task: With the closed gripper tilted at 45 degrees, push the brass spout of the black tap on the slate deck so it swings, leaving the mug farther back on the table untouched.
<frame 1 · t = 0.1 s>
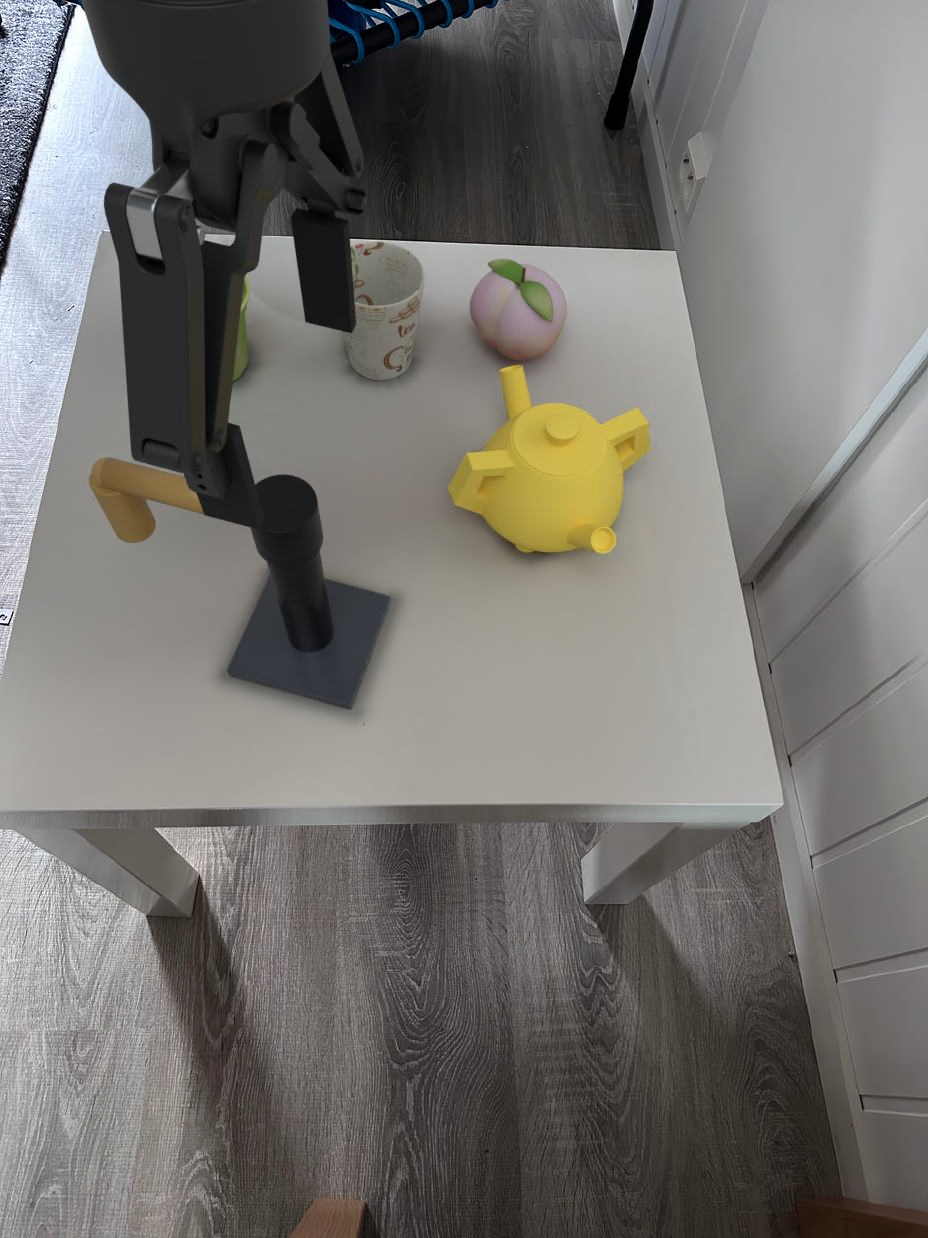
hand: (286, 413, 43), 27 cm above the table, tool pointing down, fingers open, 13 cm apart
mug: (367, 347, 83), on the table
plant pot: (215, 365, 81), on the table
spout: (208, 517, 55), point 14 cm above the table, hinge at 0.0°
square base plate: (312, 637, 68), on the table
teapot: (542, 510, 75), on the table
decorative fruit: (514, 352, 84), on the table
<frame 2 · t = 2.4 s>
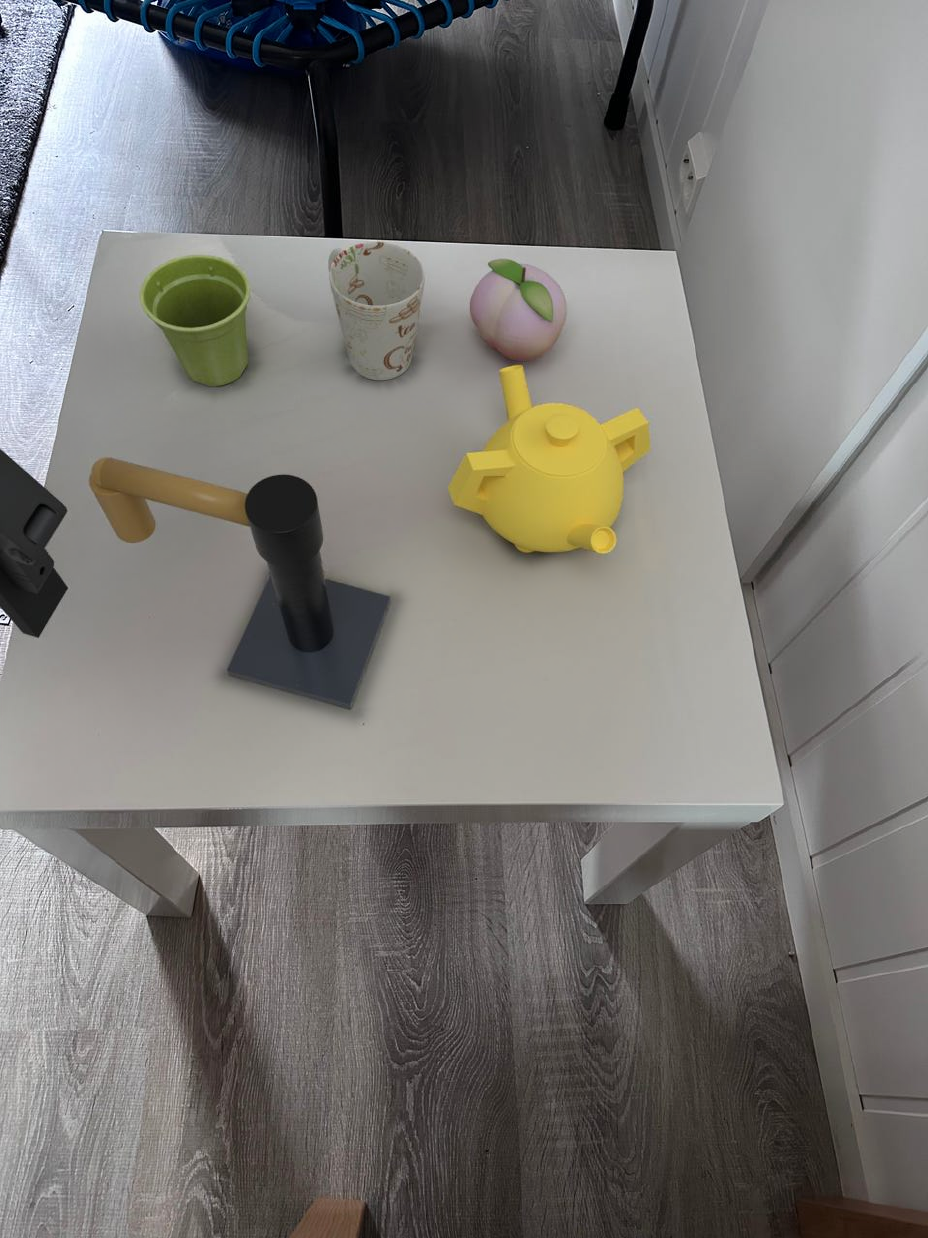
nothing on the table moved.
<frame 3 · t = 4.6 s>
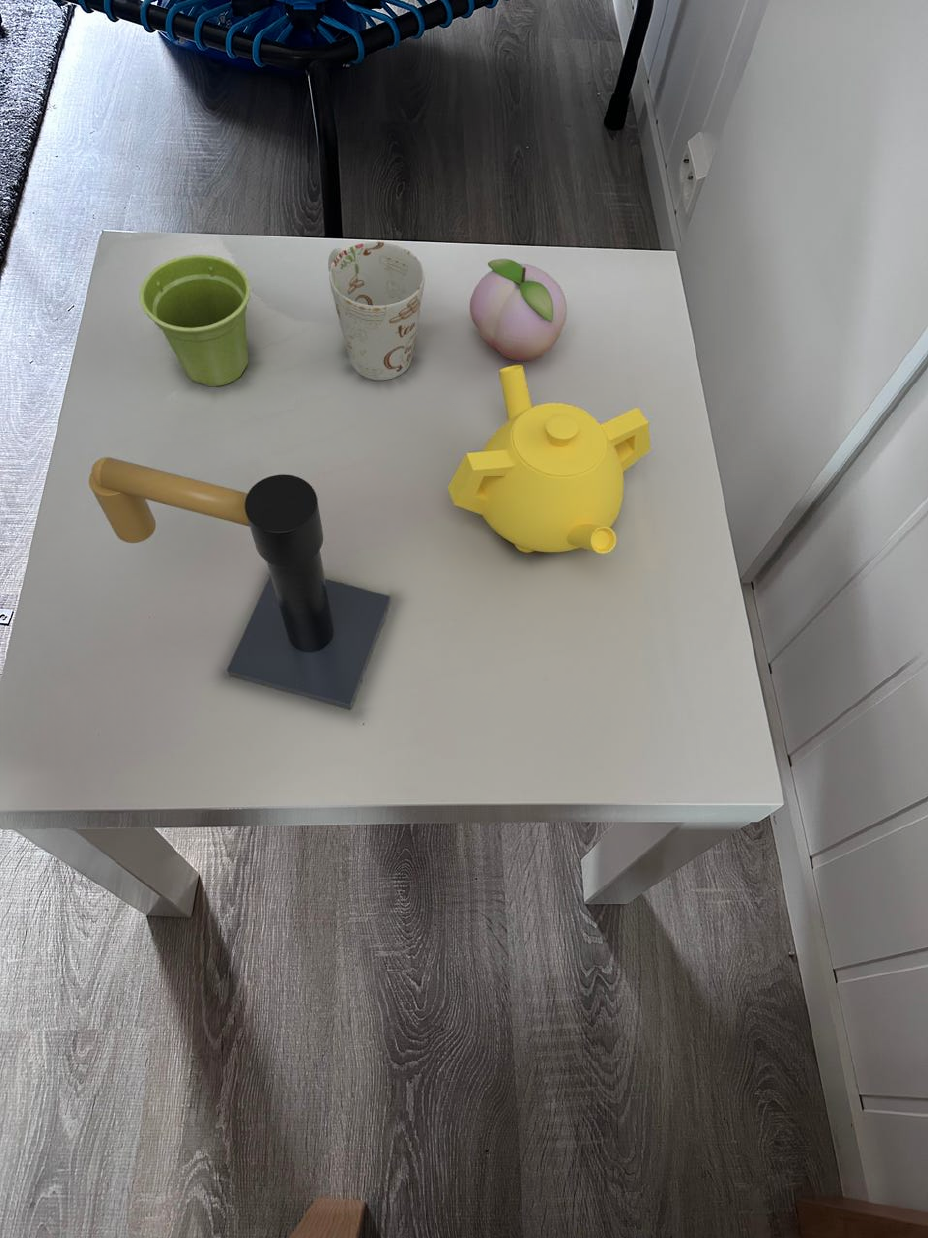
nothing on the table moved.
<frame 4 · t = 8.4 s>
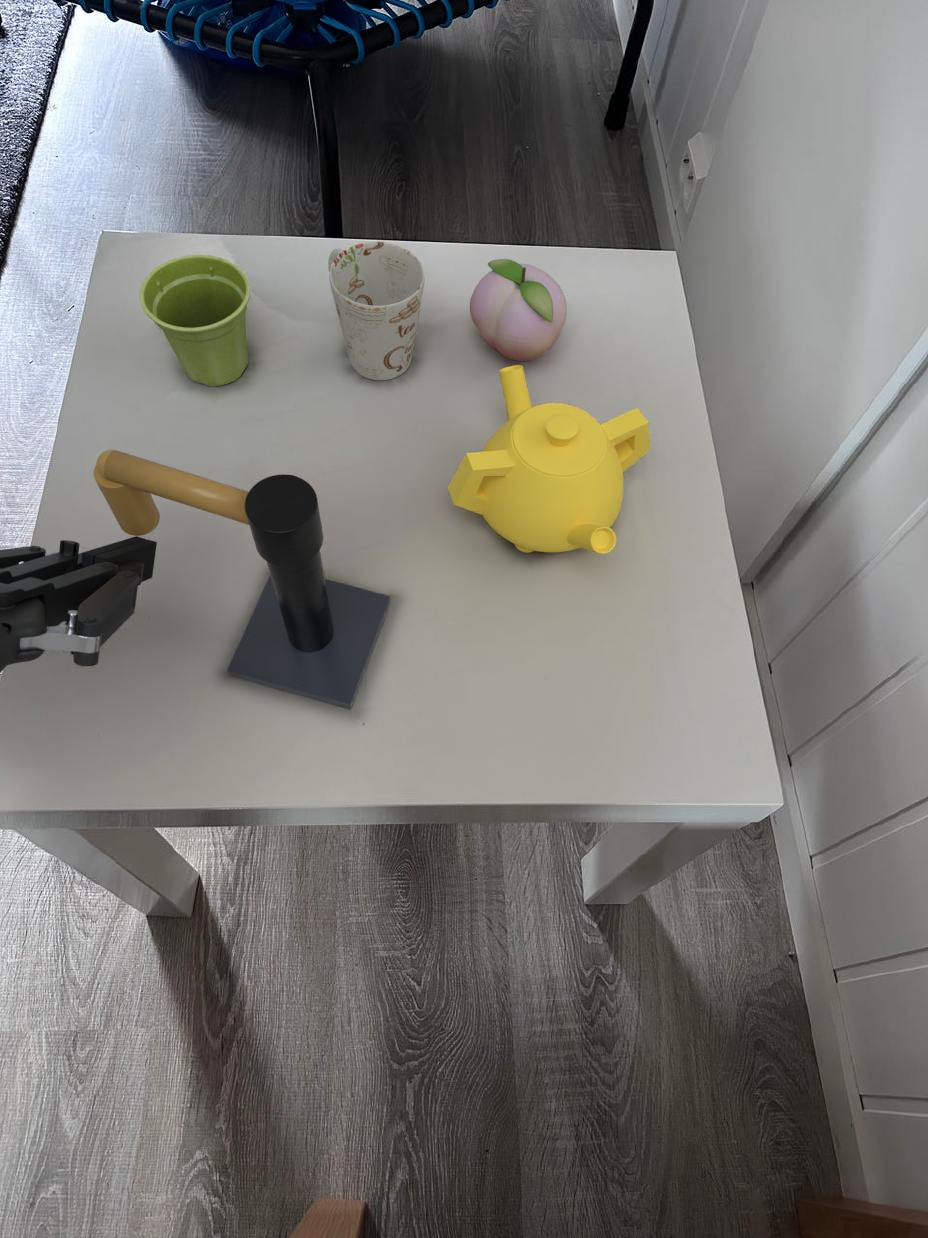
hand: (144, 557, 60), 9 cm above the table, tool tilted 45°, fingers closed
spout: (210, 513, 56), point 14 cm above the table, hinge at 3.1°, touching gripper
everything else where it was.
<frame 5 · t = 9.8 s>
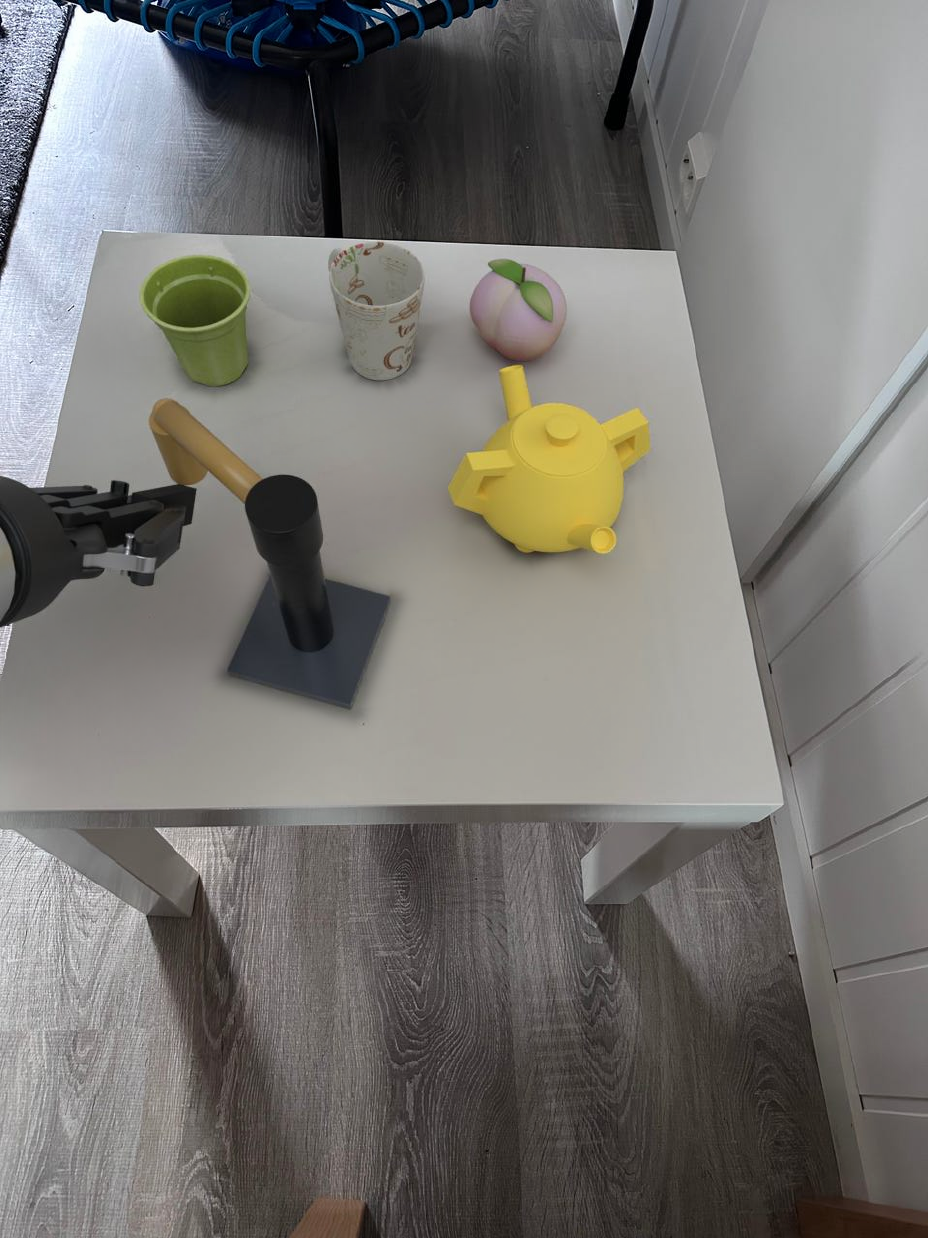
hand: (185, 503, 63), 9 cm above the table, tool tilted 45°, fingers closed
spout: (234, 488, 57), point 14 cm above the table, hinge at 28.5°, touching gripper
everything else where it was.
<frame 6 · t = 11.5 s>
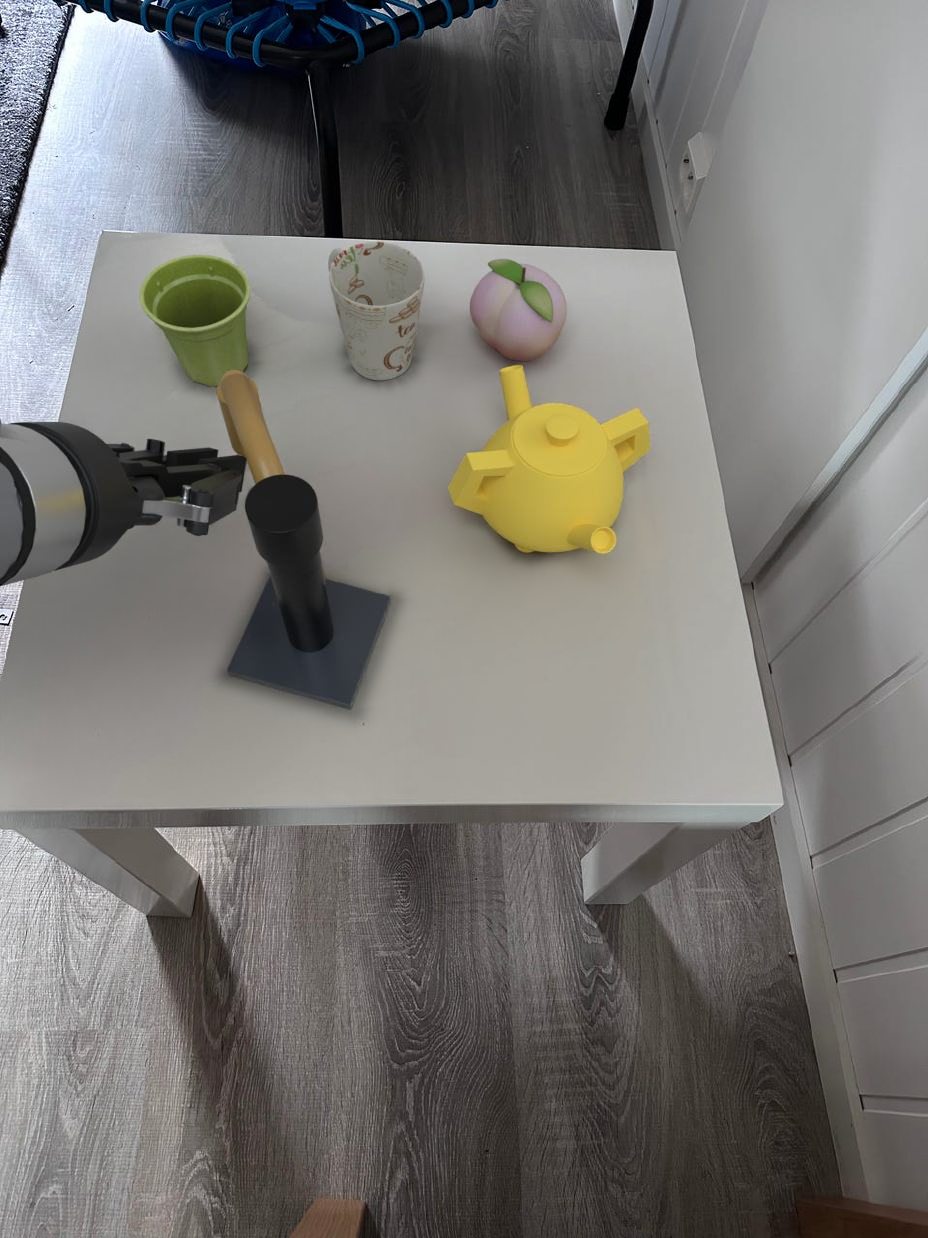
hand: (225, 469, 64), 9 cm above the table, tool tilted 45°, fingers closed
spout: (265, 473, 57), point 14 cm above the table, hinge at 52.6°, touching gripper
everything else where it was.
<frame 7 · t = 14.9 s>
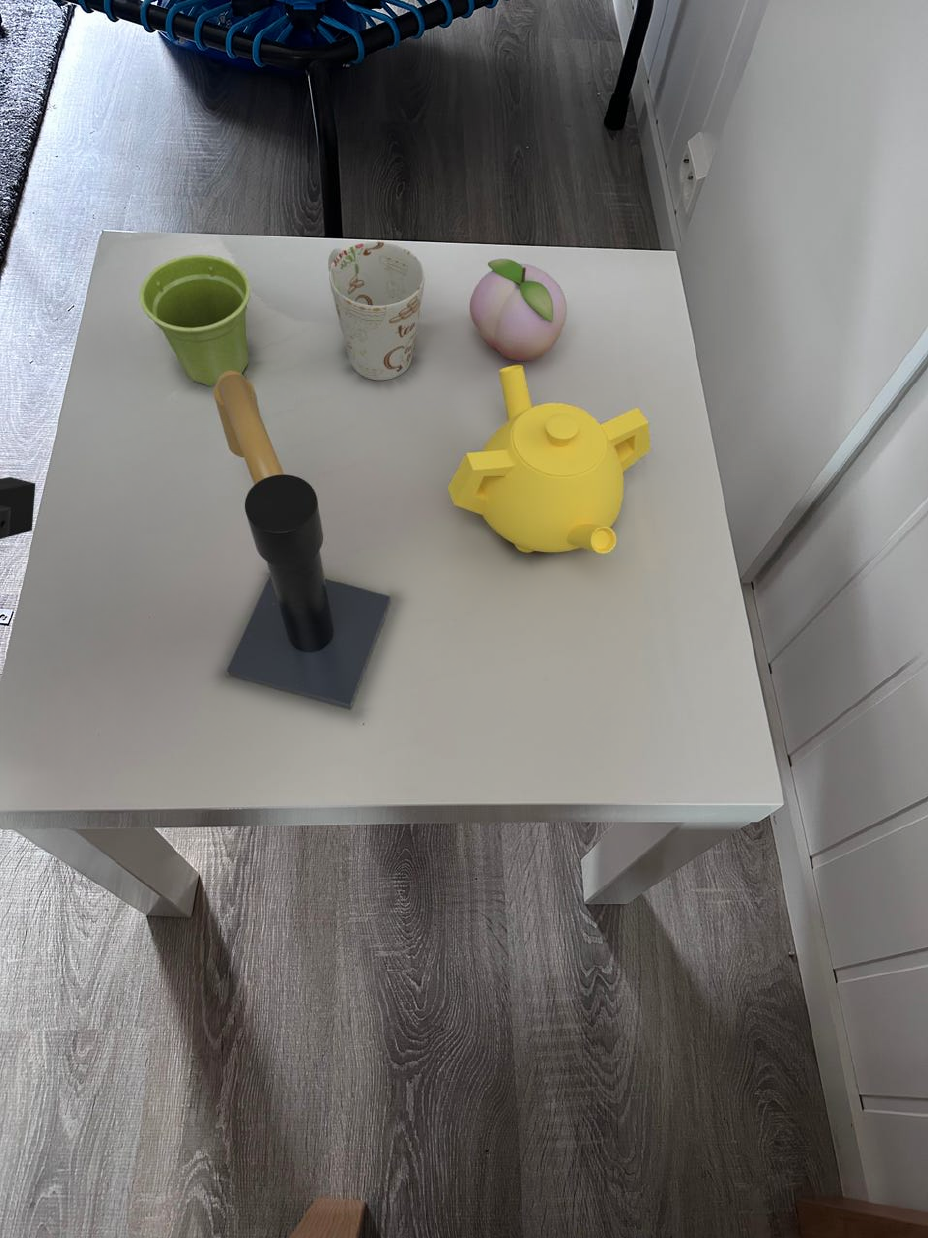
hand: (21, 503, 47), 21 cm above the table, tool tilted 45°, fingers closed
spout: (264, 474, 57), point 14 cm above the table, hinge at 51.5°
everything else where it was.
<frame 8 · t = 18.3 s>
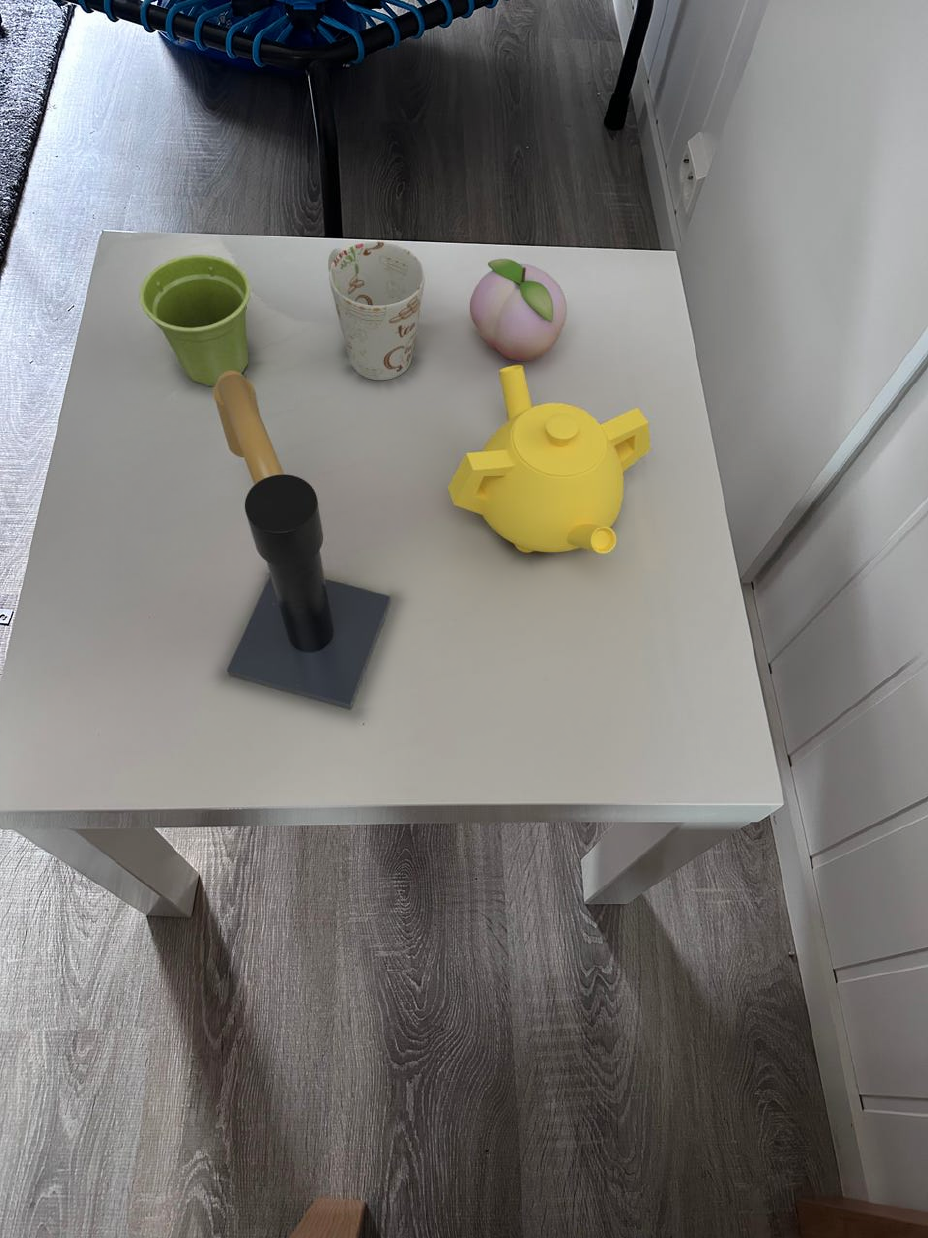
nothing on the table moved.
at the end: spout at +52° (first picture: +0°); mug moved 0.2 cm from its start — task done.
